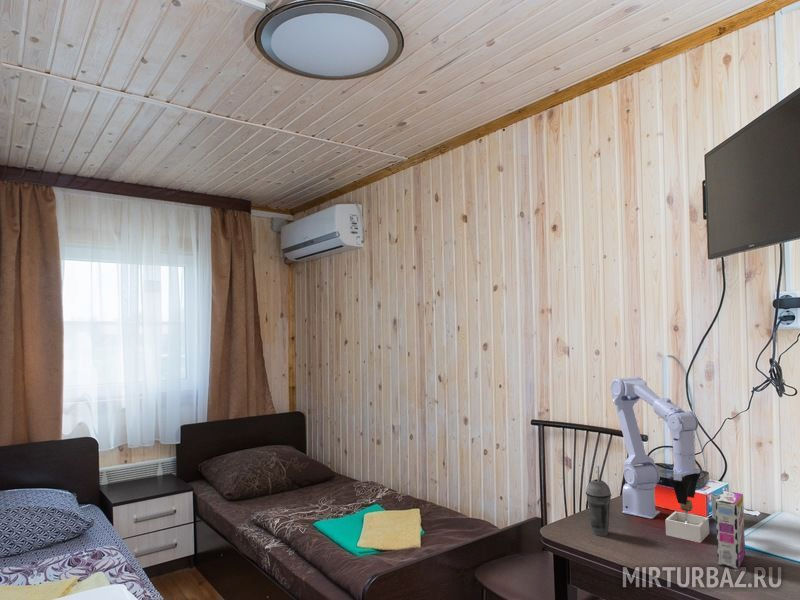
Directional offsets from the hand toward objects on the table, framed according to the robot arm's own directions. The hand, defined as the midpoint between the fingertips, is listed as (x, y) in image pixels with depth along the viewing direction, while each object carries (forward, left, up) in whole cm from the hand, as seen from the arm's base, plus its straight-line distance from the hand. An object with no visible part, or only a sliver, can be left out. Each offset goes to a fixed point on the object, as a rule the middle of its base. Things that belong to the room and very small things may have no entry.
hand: (686, 500), depth 164 cm
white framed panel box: (0, 0, -10) cm, 10 cm away
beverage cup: (-20, -15, -10) cm, 27 cm away
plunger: (0, 0, -8) cm, 8 cm away
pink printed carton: (+14, -12, -10) cm, 21 cm away
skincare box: (+6, +19, -10) cm, 22 cm away
